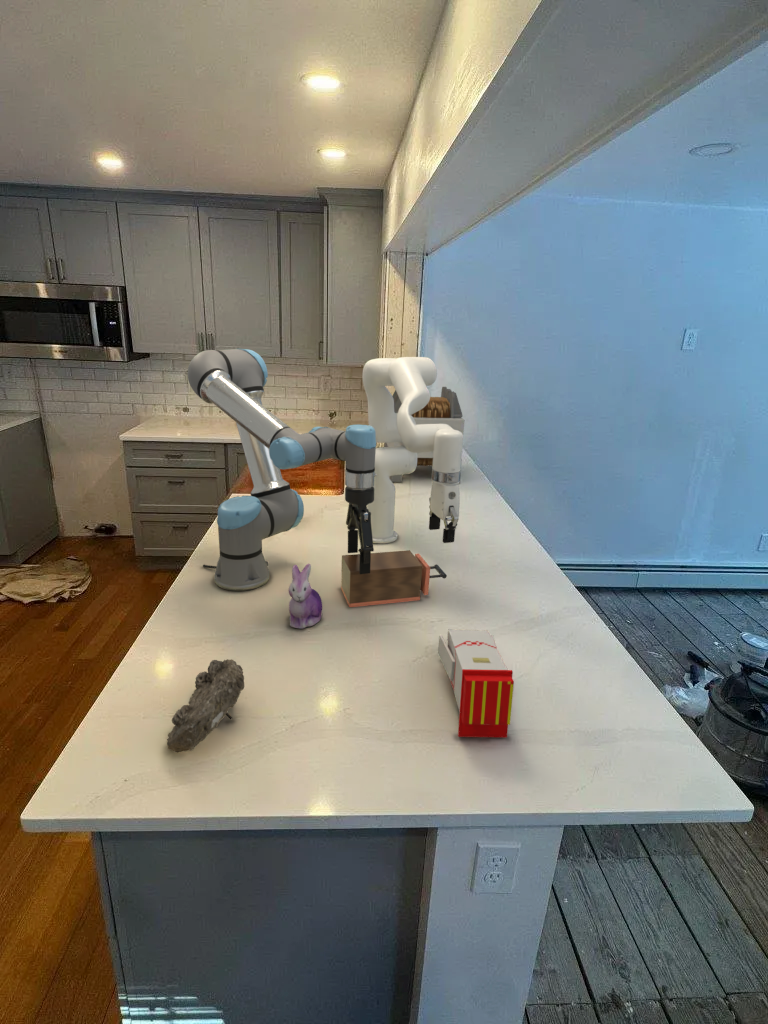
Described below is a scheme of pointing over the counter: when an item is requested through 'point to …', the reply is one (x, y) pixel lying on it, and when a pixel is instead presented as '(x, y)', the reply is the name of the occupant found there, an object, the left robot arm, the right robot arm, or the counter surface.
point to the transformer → (433, 421)
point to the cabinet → (381, 579)
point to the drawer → (428, 574)
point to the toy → (478, 682)
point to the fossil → (206, 705)
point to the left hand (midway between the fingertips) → (358, 562)
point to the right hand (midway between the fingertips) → (441, 535)
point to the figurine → (303, 600)
